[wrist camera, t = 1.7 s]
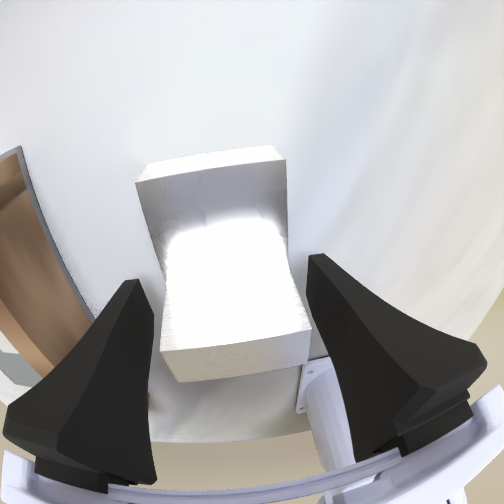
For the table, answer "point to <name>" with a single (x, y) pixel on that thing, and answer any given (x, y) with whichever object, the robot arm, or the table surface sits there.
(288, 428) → the table surface
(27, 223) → the corner walls
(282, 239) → the aluminium bracket
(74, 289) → the mat
